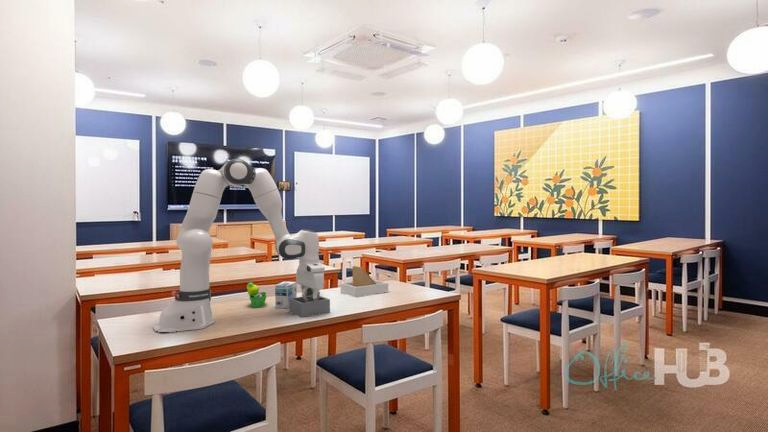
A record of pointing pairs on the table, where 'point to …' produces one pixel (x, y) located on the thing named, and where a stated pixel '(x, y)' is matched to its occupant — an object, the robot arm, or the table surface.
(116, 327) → the table surface
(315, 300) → the watch
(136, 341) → the table surface
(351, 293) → the light grey tray
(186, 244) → the robot arm
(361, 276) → the sandwich container
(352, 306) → the table surface
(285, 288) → the light bulb box
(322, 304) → the crate
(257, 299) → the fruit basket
